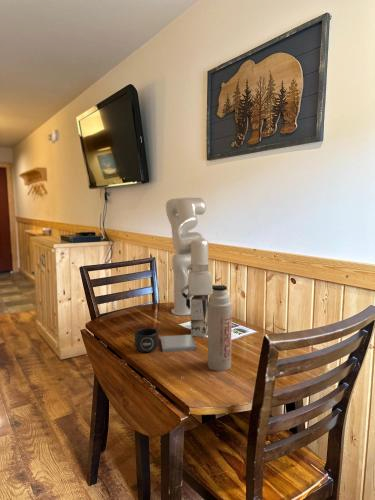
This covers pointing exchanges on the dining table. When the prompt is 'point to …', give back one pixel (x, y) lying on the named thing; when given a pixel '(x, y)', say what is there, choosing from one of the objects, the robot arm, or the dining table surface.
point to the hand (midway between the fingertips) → (199, 307)
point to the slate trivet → (177, 343)
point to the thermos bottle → (219, 329)
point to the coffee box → (199, 315)
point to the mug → (146, 339)
